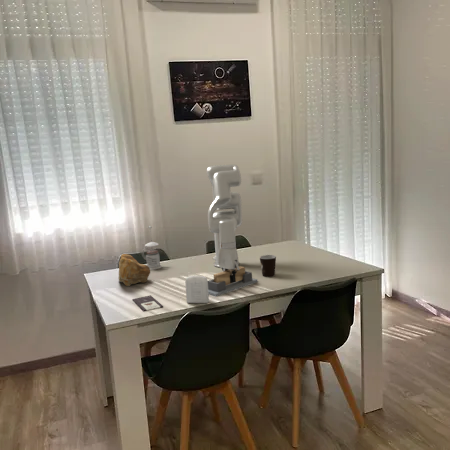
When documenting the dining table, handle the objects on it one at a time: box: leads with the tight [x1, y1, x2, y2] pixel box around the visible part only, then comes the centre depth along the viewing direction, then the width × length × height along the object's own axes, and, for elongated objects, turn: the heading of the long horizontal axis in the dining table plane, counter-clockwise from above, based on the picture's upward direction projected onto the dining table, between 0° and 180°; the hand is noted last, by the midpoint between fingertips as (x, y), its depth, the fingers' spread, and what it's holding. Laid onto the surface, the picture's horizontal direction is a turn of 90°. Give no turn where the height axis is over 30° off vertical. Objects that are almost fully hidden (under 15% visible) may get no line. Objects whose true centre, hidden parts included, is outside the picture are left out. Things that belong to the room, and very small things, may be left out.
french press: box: [141, 225, 163, 271], centre depth 270 cm, size 10×12×25 cm
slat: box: [213, 265, 246, 285], centre depth 224 cm, size 3×18×6 cm, turn 133°
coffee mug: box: [259, 254, 277, 278], centre depth 241 cm, size 12×9×10 cm
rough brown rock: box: [118, 253, 151, 287], centre depth 243 cm, size 23×17×15 cm
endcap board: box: [207, 270, 259, 297], centre depth 225 cm, size 10×28×5 cm, turn 133°
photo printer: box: [184, 274, 210, 304], centre depth 206 cm, size 10×4×12 cm, turn 81°
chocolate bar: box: [132, 295, 164, 312], centre depth 209 cm, size 9×1×18 cm
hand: (230, 281), depth 225 cm, fingers closed on slat, 3 cm apart
